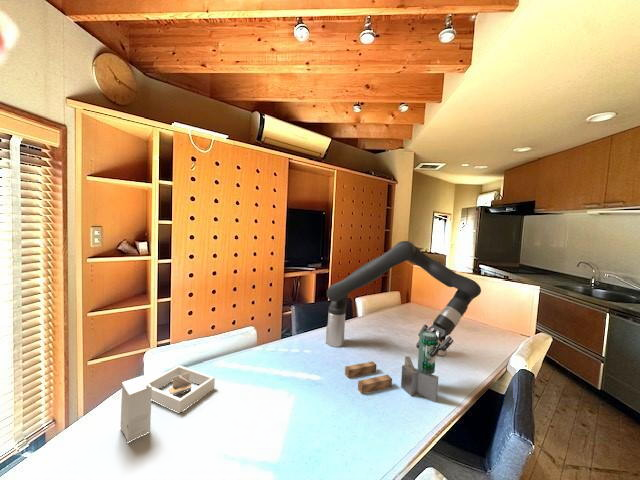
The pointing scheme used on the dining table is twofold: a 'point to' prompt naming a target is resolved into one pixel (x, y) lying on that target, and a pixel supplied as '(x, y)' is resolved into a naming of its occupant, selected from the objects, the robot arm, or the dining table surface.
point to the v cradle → (418, 381)
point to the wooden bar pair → (370, 383)
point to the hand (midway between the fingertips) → (424, 351)
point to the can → (426, 351)
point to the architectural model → (181, 384)
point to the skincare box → (136, 407)
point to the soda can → (441, 352)
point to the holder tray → (182, 403)
